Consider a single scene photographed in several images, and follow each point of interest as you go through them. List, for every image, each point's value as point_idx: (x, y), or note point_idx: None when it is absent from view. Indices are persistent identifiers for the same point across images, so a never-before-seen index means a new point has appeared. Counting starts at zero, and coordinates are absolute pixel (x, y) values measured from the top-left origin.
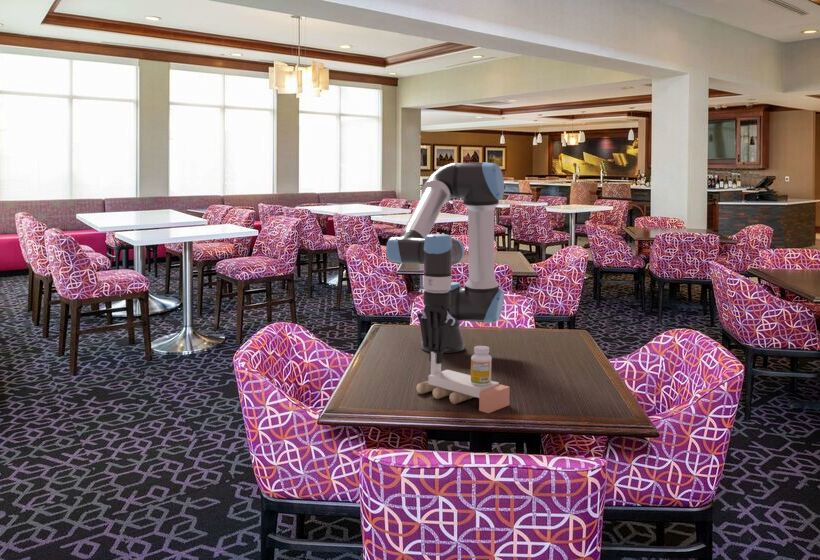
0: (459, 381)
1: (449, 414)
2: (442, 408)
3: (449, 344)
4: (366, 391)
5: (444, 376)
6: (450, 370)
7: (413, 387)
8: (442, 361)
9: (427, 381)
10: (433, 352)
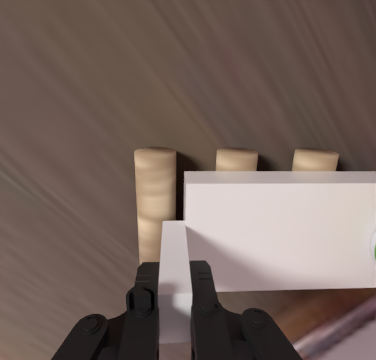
0: (326, 272)
1: (322, 311)
2: (284, 295)
3: (293, 354)
4: (33, 334)
5: (243, 265)
6: (207, 186)
7: (91, 225)
8: (210, 268)
9: (156, 248)
10: (178, 341)
